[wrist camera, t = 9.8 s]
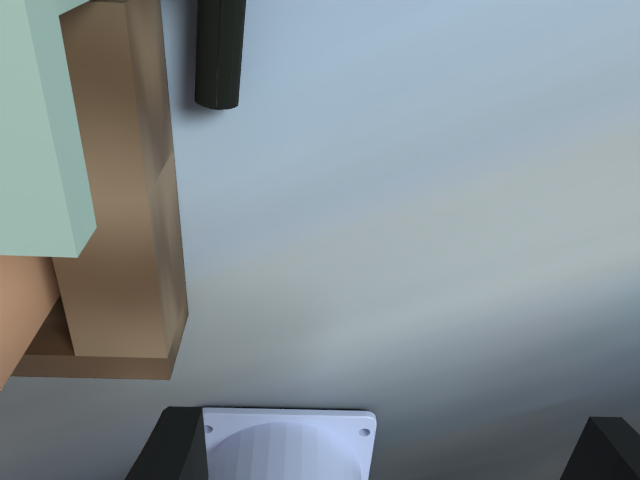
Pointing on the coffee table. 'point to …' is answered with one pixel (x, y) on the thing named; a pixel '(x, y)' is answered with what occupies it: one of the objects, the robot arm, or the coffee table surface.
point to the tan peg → (23, 305)
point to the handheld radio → (219, 52)
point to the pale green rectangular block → (40, 137)
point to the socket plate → (119, 207)
